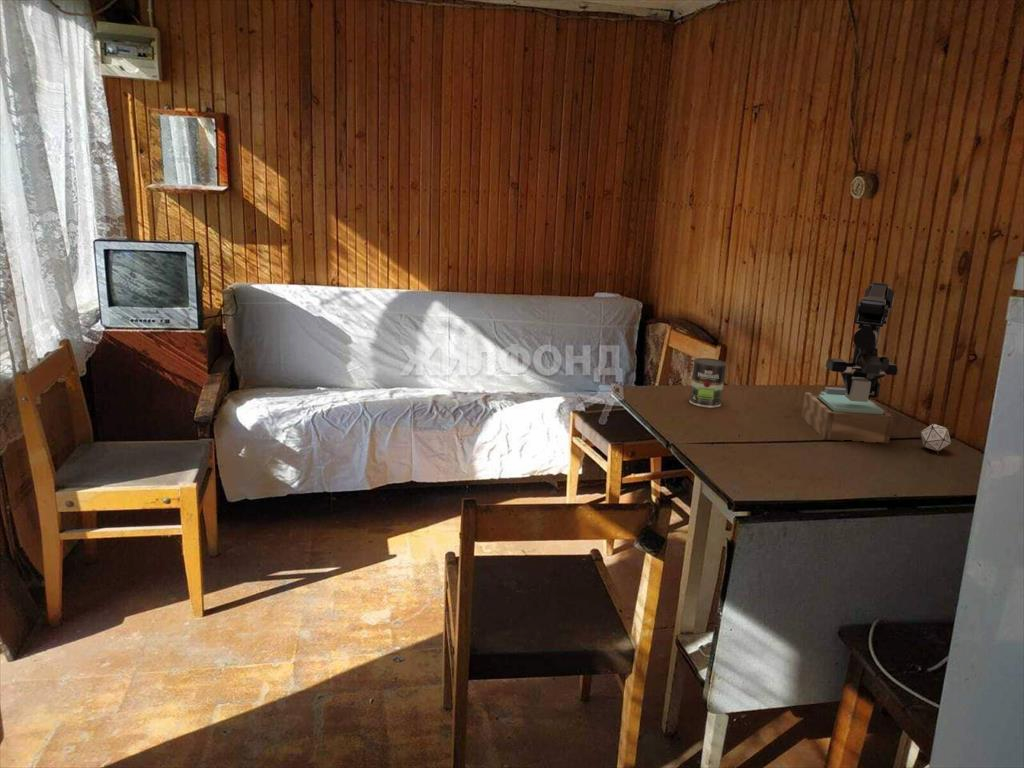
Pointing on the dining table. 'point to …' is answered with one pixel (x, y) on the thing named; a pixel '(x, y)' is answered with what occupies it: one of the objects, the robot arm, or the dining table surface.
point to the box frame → (846, 422)
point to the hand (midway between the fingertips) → (856, 394)
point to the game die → (935, 437)
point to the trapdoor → (846, 402)
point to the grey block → (859, 389)
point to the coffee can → (707, 382)
